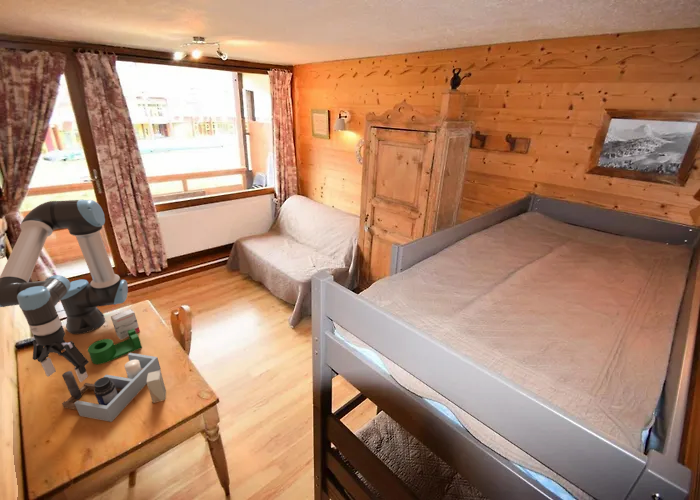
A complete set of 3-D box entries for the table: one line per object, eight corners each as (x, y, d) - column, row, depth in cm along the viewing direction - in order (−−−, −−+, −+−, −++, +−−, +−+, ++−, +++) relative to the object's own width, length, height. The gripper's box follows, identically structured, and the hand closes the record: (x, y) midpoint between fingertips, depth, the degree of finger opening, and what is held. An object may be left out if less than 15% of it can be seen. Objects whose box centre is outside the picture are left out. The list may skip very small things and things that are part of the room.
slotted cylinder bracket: (94, 367, 137) (90, 356, 135) (90, 356, 143) (85, 345, 140) (142, 347, 149) (138, 336, 146) (136, 338, 155) (133, 327, 152)
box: (154, 393, 127) (147, 372, 122) (166, 390, 128) (160, 369, 124) (152, 403, 122) (146, 382, 118) (165, 400, 124) (159, 379, 119)
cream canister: (135, 373, 135) (131, 358, 132) (146, 375, 135) (142, 360, 131) (126, 382, 131) (121, 367, 127) (137, 384, 130) (132, 369, 127)
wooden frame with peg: (85, 386, 128) (76, 363, 123) (131, 394, 126) (124, 371, 121) (61, 407, 119) (50, 383, 114) (111, 416, 117) (102, 392, 112)
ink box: (136, 327, 162) (130, 307, 157) (140, 331, 159) (134, 311, 154) (116, 335, 155) (109, 315, 150) (120, 340, 153) (113, 320, 148)
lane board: (133, 364, 140) (129, 352, 137) (160, 368, 138) (157, 357, 135) (80, 415, 117) (74, 403, 114) (111, 421, 115) (106, 409, 112)
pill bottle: (98, 403, 122) (89, 381, 117) (117, 393, 126) (109, 372, 121) (102, 413, 118) (93, 391, 113) (121, 403, 122) (114, 381, 117)
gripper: (4, 331, 108) (27, 379, 117) (69, 341, 105) (88, 389, 114) (27, 318, 115) (48, 364, 124) (89, 327, 112) (106, 373, 120)
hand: (67, 376), depth 119 cm, fingers open, 13 cm apart
